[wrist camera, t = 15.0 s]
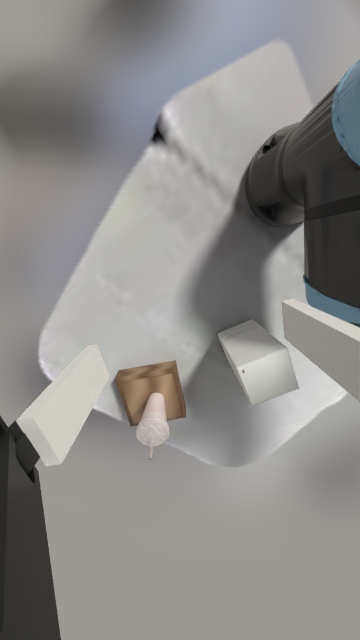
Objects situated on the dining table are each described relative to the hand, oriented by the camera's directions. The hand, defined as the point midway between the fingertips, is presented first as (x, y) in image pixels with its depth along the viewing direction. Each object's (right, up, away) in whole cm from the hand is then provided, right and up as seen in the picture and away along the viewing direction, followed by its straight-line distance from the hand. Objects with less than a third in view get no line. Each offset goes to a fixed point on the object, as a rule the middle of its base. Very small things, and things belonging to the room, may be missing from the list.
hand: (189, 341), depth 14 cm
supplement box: (+14, -4, +34) cm, 37 cm away
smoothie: (-6, -17, +34) cm, 38 cm away
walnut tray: (-7, -16, +37) cm, 41 cm away
